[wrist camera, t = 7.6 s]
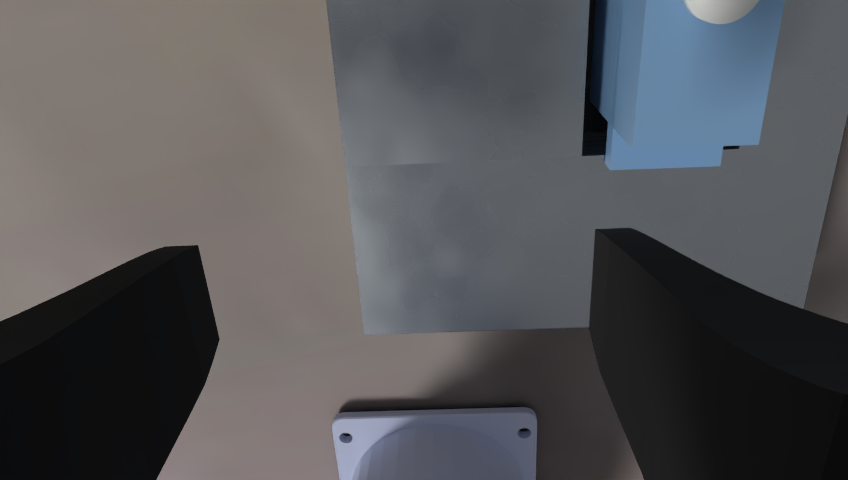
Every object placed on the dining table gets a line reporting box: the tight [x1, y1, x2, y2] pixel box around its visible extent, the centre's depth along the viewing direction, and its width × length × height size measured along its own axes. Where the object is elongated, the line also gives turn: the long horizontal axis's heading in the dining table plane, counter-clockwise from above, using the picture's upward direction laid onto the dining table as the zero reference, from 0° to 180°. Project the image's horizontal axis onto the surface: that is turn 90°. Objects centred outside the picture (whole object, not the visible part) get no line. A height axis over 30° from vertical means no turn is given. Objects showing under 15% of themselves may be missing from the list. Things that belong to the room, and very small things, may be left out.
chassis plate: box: [326, 0, 848, 335], centre depth 19 cm, size 16×14×2 cm
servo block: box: [589, 0, 785, 170], centre depth 17 cm, size 7×3×6 cm, turn 3°
